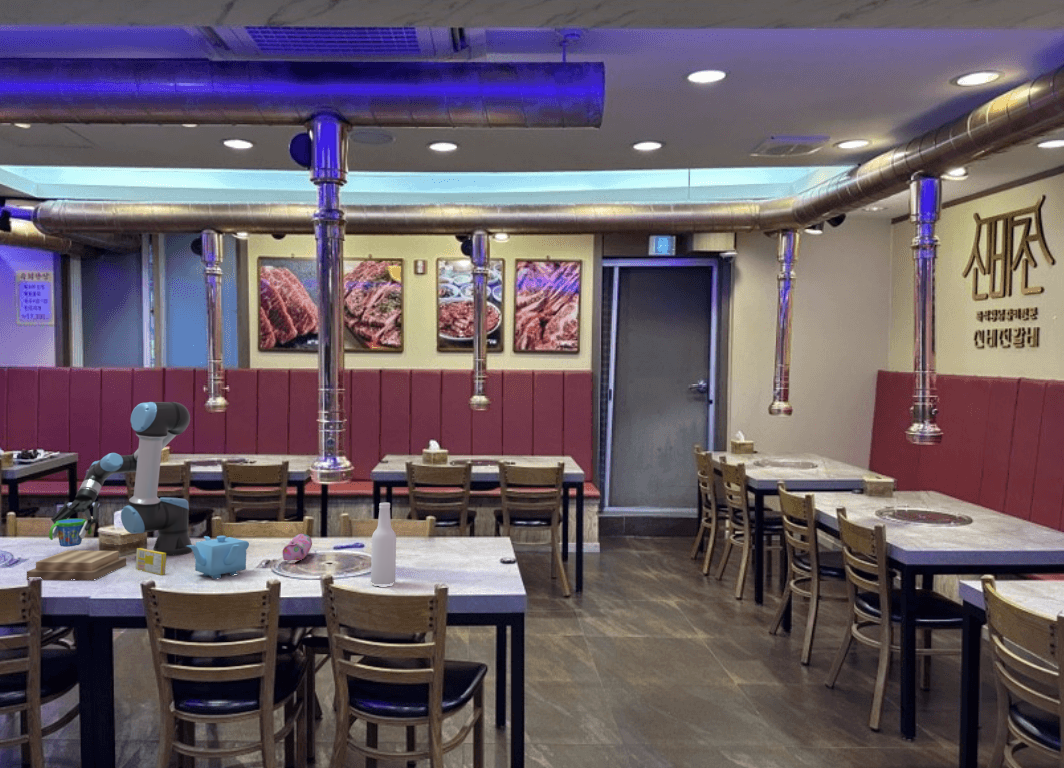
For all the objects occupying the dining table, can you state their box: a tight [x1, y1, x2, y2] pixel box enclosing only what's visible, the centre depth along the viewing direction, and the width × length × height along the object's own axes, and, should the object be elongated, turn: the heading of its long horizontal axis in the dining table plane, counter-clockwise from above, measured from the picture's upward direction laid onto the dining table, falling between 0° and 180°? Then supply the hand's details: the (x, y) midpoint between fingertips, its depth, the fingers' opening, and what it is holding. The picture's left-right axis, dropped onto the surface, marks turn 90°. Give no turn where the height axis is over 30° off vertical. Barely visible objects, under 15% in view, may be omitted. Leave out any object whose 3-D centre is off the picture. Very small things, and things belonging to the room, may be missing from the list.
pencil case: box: [282, 533, 313, 561], centre depth 323 cm, size 21×9×9 cm, turn 5°
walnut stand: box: [26, 549, 127, 581], centre depth 293 cm, size 24×24×6 cm
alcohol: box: [370, 501, 397, 584], centre depth 284 cm, size 9×9×30 cm
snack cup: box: [48, 518, 93, 547], centre depth 317 cm, size 16×10×10 cm
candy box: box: [135, 547, 167, 576], centre depth 296 cm, size 16×2×8 cm, turn 59°
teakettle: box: [187, 535, 250, 580], centre depth 293 cm, size 19×19×15 cm
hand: (66, 536), depth 314 cm, fingers closed on snack cup, 11 cm apart
